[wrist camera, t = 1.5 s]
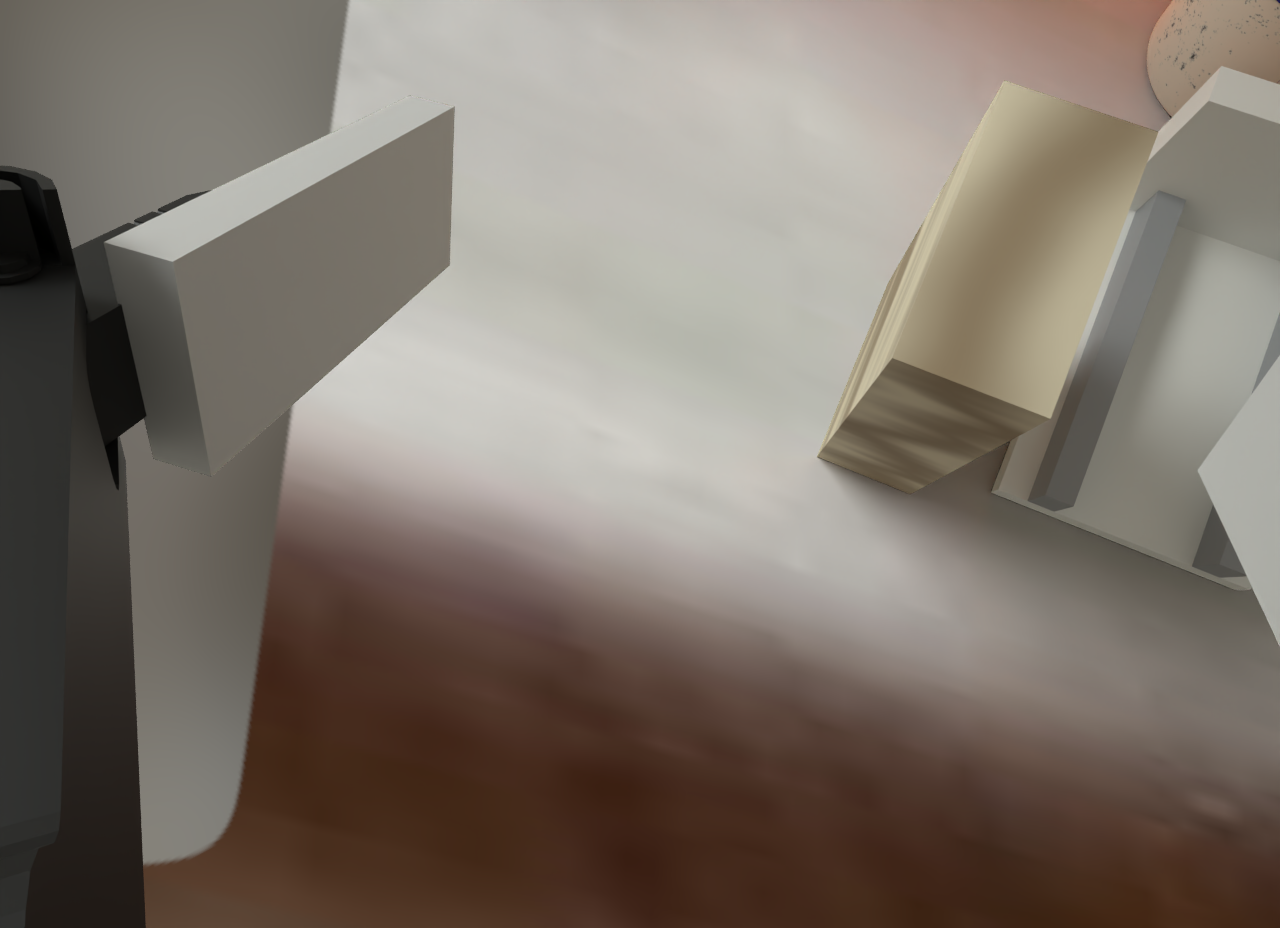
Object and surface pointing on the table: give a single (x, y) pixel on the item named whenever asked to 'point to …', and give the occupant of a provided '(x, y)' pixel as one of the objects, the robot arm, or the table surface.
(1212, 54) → the teacup with lid
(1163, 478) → the track
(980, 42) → the table surface
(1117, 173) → the tall wooden block
